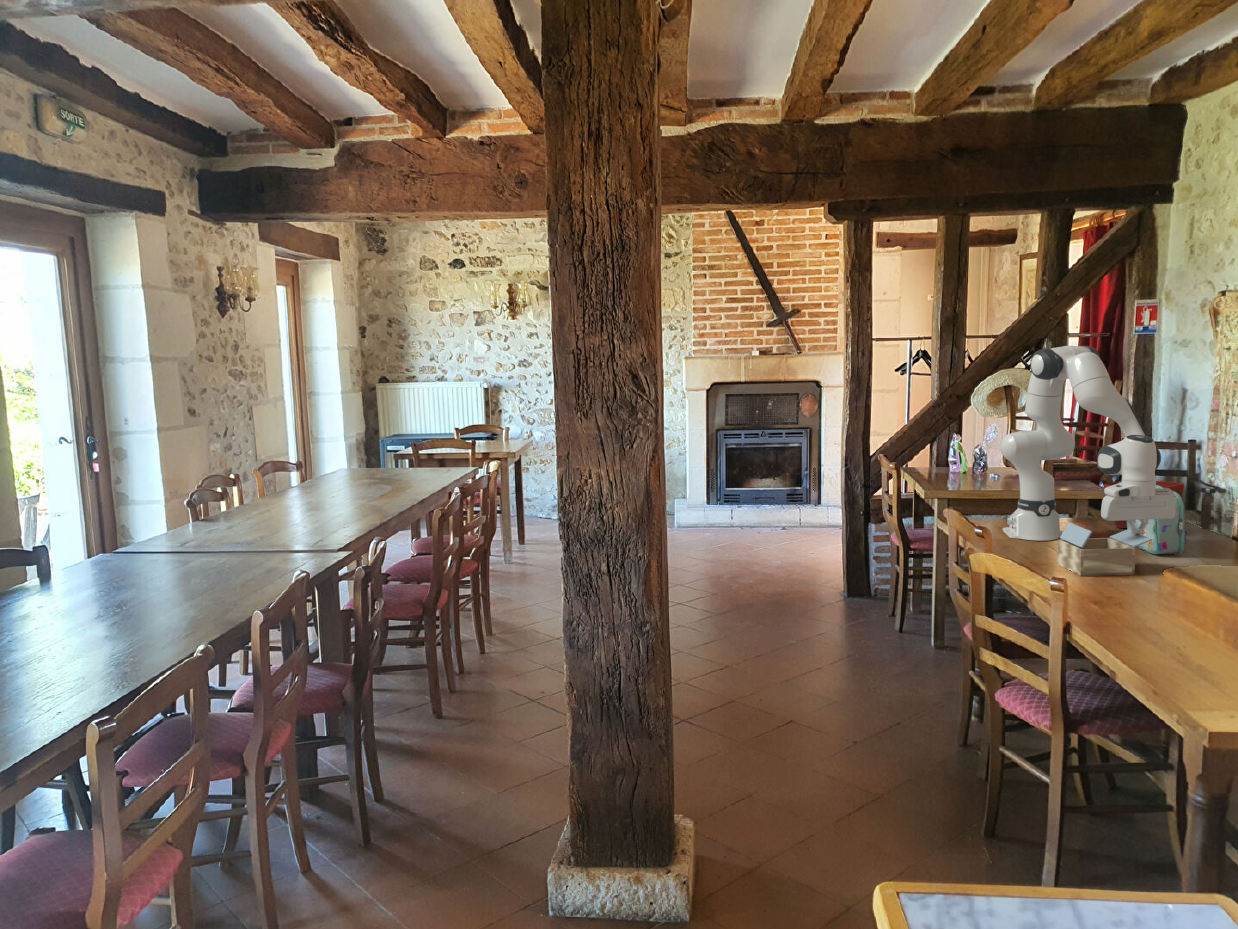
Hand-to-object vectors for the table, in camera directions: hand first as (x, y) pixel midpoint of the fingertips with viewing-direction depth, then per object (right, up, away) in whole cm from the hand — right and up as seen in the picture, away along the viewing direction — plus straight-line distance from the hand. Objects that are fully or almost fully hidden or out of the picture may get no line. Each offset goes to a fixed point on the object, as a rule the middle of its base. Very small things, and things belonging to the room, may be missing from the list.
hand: (1137, 534), depth 252 cm
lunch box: (+20, -7, +23) cm, 32 cm away
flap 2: (-5, -3, +1) cm, 6 cm away
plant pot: (+36, -3, +55) cm, 66 cm away
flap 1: (-20, -3, +2) cm, 20 cm away
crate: (-12, -11, +2) cm, 16 cm away
